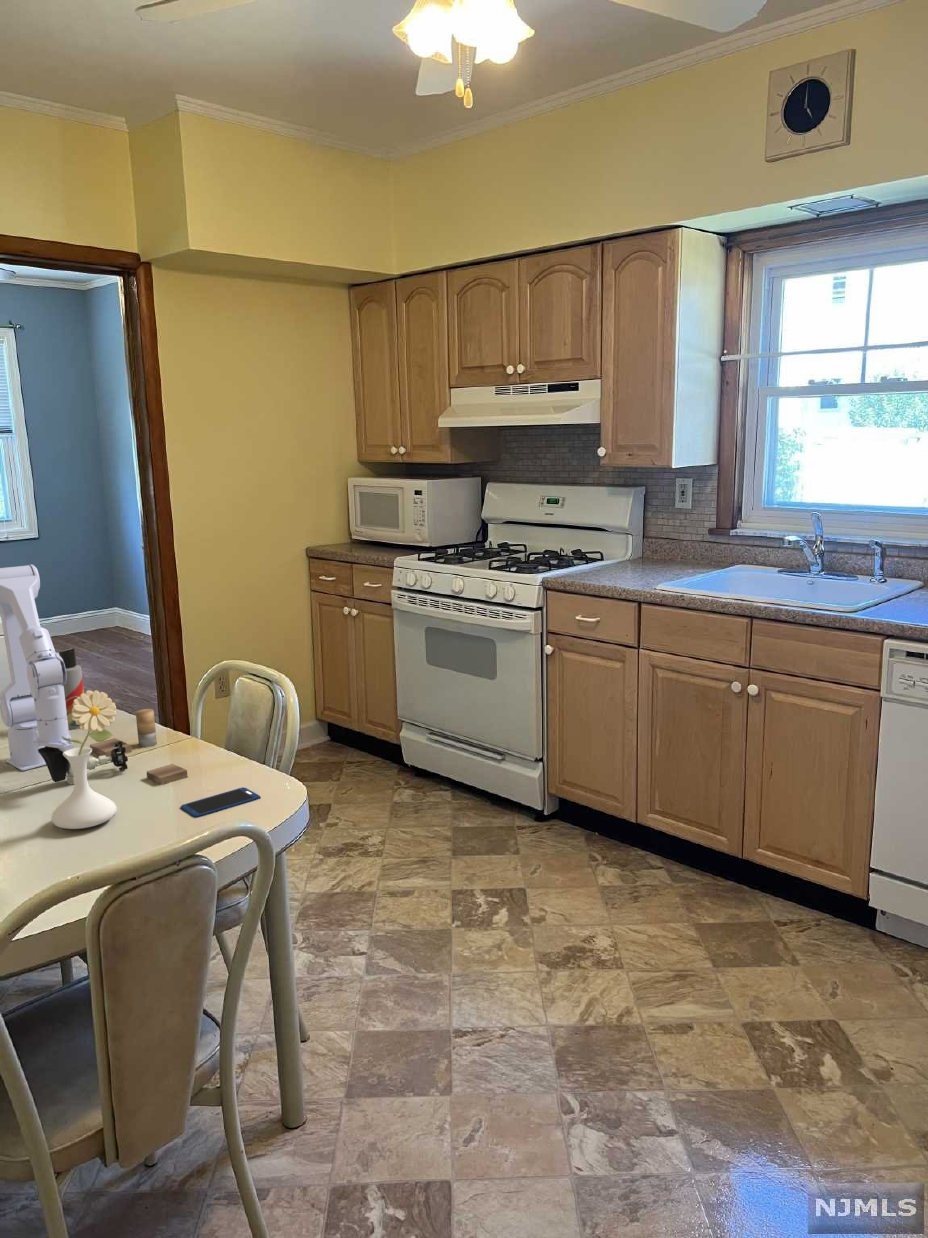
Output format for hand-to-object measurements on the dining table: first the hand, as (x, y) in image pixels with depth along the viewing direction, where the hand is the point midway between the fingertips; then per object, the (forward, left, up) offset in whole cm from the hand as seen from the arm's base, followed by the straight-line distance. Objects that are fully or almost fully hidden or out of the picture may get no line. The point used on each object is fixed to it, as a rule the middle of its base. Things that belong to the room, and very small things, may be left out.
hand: (59, 780), depth 190 cm
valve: (0, +8, -2) cm, 8 cm away
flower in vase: (+22, -4, -2) cm, 23 cm away
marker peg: (-12, +25, -1) cm, 28 cm away
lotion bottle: (-40, +20, -2) cm, 44 cm away
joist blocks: (0, +17, -1) cm, 17 cm away
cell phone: (+33, +17, -2) cm, 38 cm away
